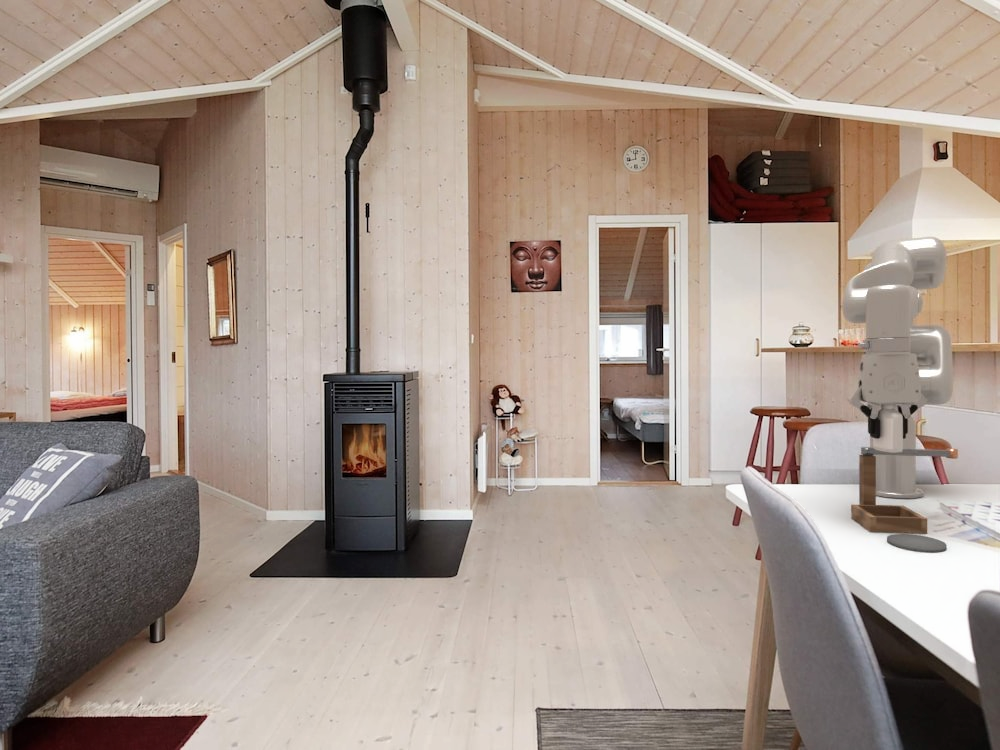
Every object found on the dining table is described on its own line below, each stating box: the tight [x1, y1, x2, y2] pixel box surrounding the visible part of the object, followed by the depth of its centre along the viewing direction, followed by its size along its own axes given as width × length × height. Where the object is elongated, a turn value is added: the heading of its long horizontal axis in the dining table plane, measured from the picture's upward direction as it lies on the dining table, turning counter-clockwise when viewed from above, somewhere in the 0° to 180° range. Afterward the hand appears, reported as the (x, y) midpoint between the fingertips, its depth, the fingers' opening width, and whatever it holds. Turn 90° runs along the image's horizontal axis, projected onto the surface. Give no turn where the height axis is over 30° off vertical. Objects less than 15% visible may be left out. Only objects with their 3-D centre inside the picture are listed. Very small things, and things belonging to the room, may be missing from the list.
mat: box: [886, 533, 947, 553], centre depth 111 cm, size 9×9×1 cm
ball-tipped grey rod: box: [860, 446, 959, 460], centre depth 130 cm, size 18×2×2 cm, turn 71°
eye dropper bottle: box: [873, 404, 903, 453], centre depth 123 cm, size 4×6×12 cm
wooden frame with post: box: [850, 454, 928, 535], centre depth 126 cm, size 16×10×13 cm, turn 169°
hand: (887, 436), depth 123 cm, fingers closed on eye dropper bottle, 4 cm apart
